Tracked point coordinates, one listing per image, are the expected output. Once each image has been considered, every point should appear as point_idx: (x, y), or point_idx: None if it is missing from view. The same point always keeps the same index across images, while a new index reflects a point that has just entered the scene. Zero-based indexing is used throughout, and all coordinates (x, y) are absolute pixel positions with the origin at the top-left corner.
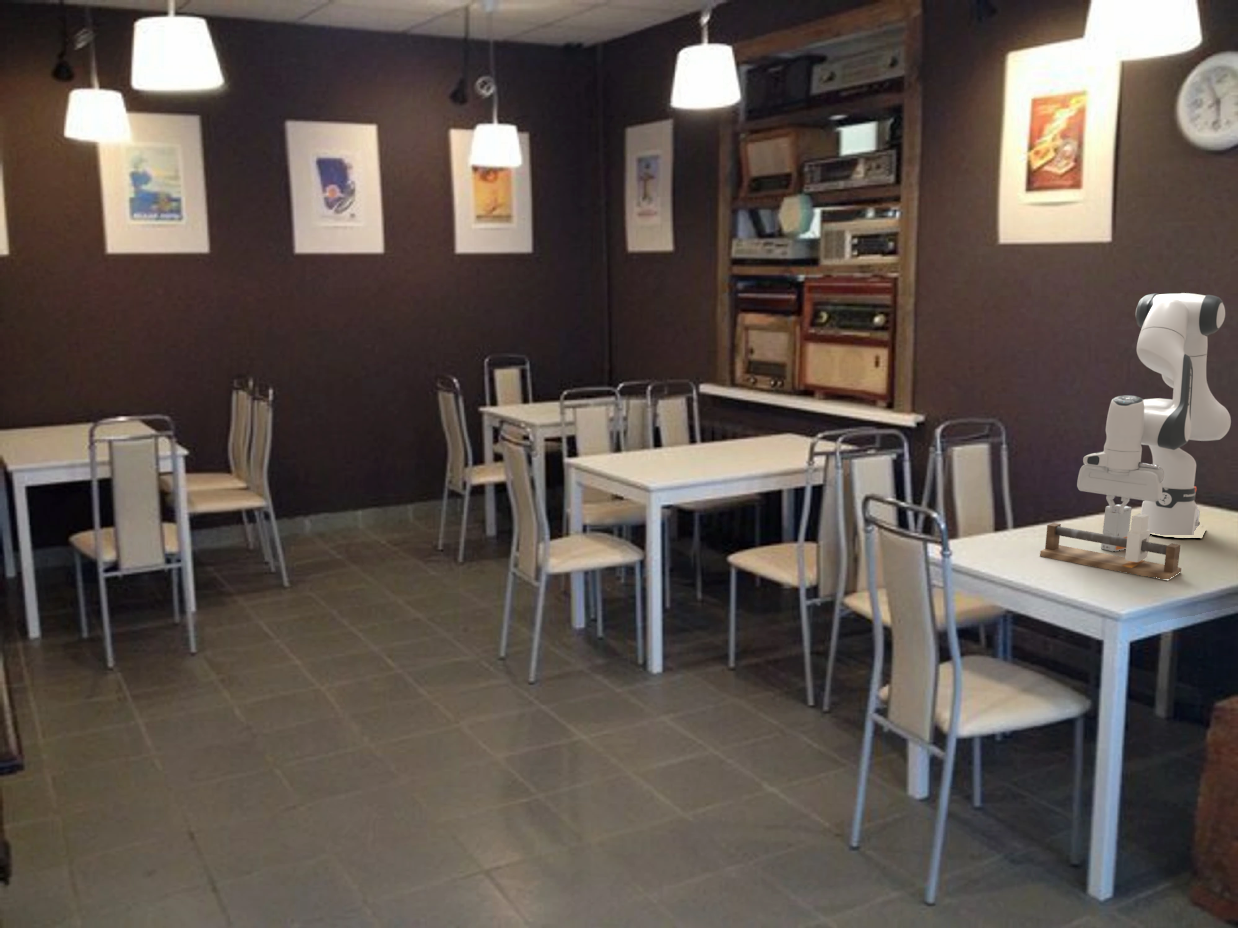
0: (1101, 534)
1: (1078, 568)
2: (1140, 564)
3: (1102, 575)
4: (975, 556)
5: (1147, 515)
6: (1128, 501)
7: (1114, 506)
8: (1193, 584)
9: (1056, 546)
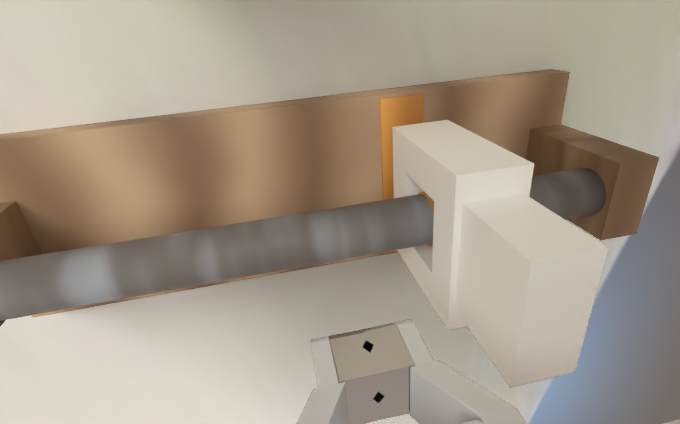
0: (260, 267)
1: (258, 320)
2: None
3: (354, 324)
4: None
5: (598, 271)
6: (507, 417)
7: (363, 419)
8: None
9: (23, 233)
